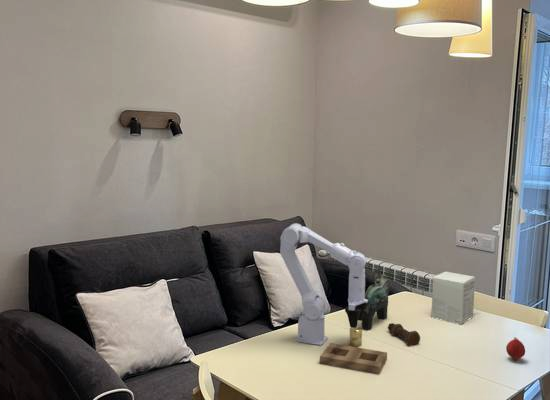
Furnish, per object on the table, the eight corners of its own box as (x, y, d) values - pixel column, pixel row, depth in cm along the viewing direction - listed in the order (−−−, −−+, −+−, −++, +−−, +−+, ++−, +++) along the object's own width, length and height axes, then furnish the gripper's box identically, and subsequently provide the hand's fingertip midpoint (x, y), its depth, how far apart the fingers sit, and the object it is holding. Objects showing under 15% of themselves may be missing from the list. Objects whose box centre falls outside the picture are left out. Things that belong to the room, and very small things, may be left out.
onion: (523, 357, 178) (524, 335, 177) (525, 364, 173) (527, 341, 172) (504, 355, 180) (506, 333, 179) (506, 362, 175) (507, 339, 174)
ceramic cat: (378, 314, 221) (380, 269, 218) (393, 318, 217) (394, 271, 215) (357, 328, 205) (358, 279, 202) (372, 332, 201) (373, 282, 199)
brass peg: (347, 346, 188) (348, 330, 187) (351, 341, 192) (351, 326, 191) (359, 348, 186) (360, 332, 185) (362, 343, 190) (363, 327, 189)
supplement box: (474, 316, 219) (476, 276, 217) (461, 325, 209) (463, 282, 207) (443, 309, 228) (445, 270, 225) (430, 317, 218) (432, 276, 216)
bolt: (392, 335, 203) (416, 349, 189) (382, 331, 201) (405, 344, 187) (398, 322, 203) (422, 334, 189) (389, 317, 202) (412, 329, 188)
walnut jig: (319, 363, 173) (319, 356, 173) (330, 349, 184) (330, 343, 184) (379, 374, 166) (379, 366, 165) (387, 359, 177) (387, 352, 176)
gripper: (362, 294, 178) (362, 332, 180) (372, 283, 191) (371, 318, 193) (343, 291, 181) (342, 329, 182) (353, 281, 194) (352, 316, 196)
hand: (356, 323), depth 188 cm, fingers open, 7 cm apart
